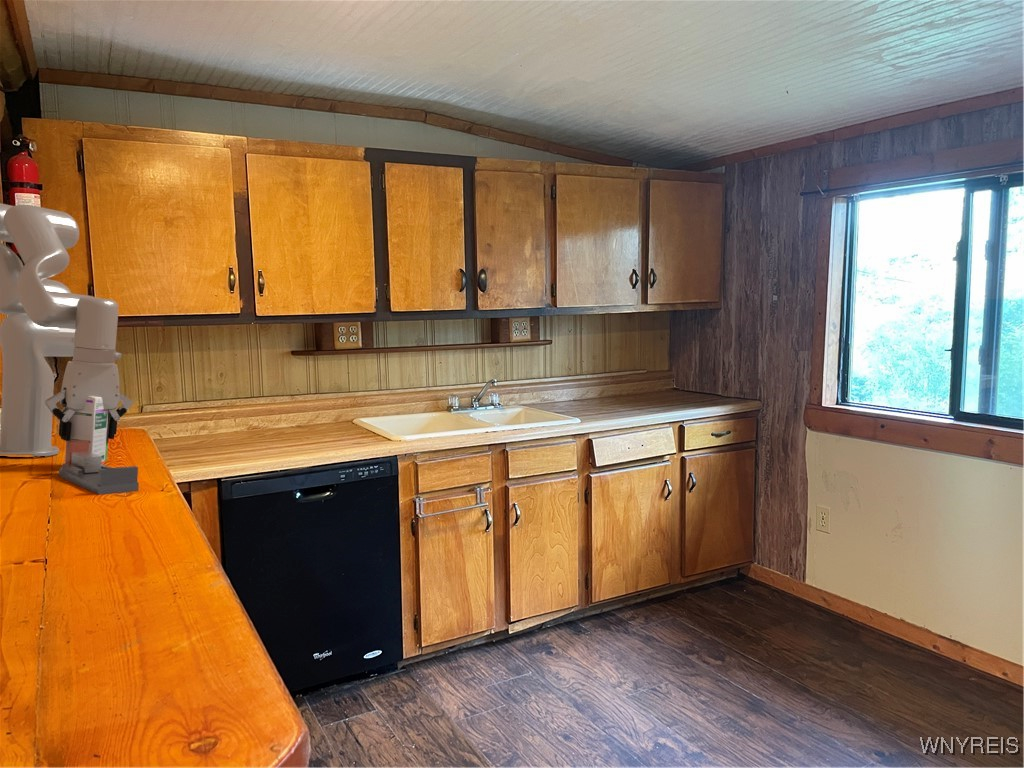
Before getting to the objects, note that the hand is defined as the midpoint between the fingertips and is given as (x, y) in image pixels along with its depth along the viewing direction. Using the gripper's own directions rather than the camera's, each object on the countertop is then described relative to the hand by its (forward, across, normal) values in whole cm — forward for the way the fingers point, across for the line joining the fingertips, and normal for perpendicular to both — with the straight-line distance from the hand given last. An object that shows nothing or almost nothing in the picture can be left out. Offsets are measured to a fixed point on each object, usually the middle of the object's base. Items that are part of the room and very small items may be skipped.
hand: (87, 438), depth 148 cm
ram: (+4, +4, +9) cm, 10 cm away
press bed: (+6, +4, +16) cm, 17 cm away
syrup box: (+5, 0, 0) cm, 5 cm away
